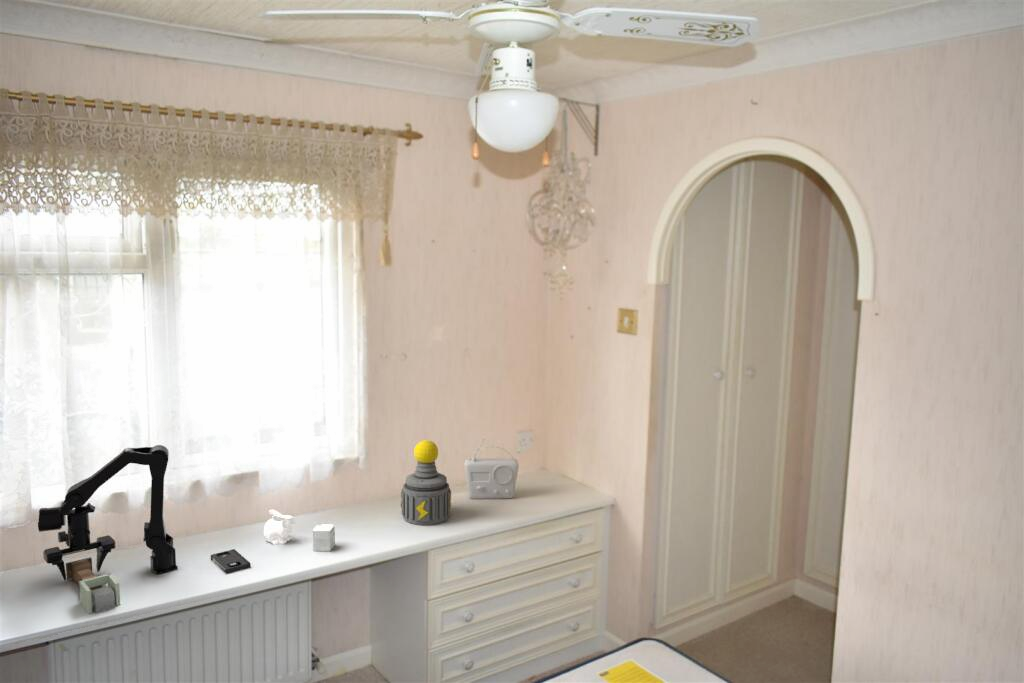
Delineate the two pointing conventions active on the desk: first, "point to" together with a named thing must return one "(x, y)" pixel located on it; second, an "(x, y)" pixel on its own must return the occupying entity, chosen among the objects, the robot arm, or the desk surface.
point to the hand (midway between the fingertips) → (81, 575)
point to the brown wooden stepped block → (80, 571)
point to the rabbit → (278, 528)
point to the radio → (491, 477)
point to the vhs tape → (230, 561)
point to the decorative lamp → (426, 489)
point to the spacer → (102, 599)
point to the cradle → (96, 581)
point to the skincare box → (323, 537)
